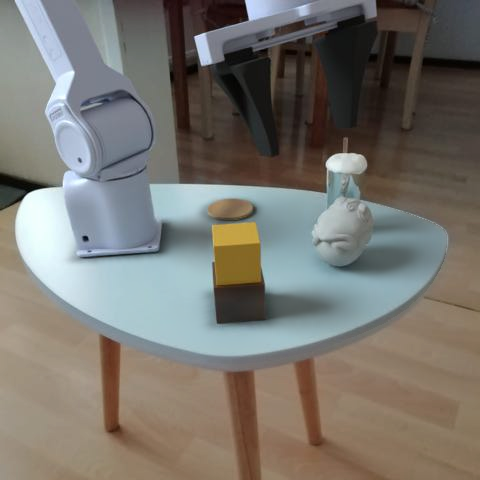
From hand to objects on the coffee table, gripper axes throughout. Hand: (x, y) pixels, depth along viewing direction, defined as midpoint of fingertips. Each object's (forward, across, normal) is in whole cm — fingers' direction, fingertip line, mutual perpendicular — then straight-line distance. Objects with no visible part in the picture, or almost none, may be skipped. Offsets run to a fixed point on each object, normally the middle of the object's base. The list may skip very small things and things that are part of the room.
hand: (308, 140), depth 40 cm
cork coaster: (+11, +2, +24) cm, 26 cm away
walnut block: (+14, -8, +4) cm, 16 cm away
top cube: (+10, -8, +4) cm, 13 cm away
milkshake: (+14, +10, +12) cm, 22 cm away
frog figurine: (+15, +5, +6) cm, 17 cm away
